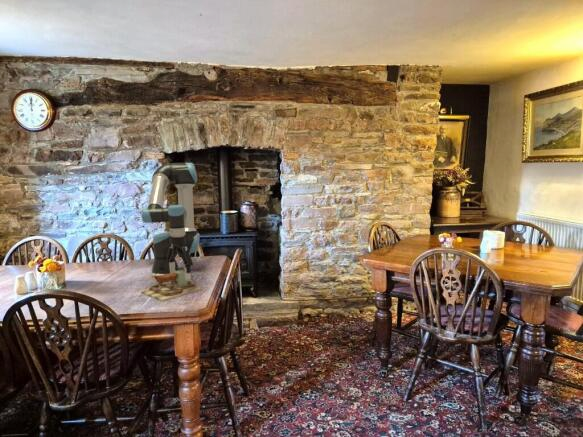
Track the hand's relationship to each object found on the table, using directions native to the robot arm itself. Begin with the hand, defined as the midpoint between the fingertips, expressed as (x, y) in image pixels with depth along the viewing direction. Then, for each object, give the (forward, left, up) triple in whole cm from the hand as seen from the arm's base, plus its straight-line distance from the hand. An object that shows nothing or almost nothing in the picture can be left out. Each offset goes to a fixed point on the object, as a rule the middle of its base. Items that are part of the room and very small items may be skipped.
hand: (180, 276), depth 200 cm
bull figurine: (0, -9, -4) cm, 10 cm away
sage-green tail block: (0, 0, -5) cm, 5 cm away
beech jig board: (0, -6, -6) cm, 8 cm away
